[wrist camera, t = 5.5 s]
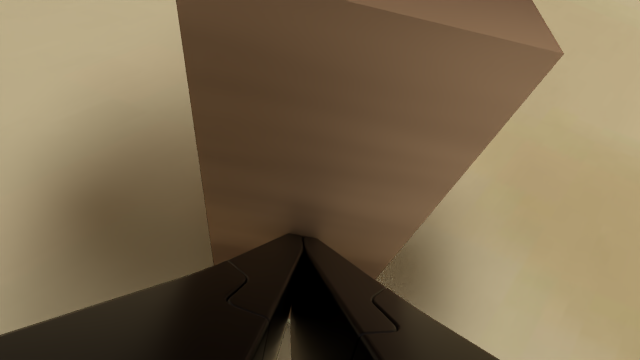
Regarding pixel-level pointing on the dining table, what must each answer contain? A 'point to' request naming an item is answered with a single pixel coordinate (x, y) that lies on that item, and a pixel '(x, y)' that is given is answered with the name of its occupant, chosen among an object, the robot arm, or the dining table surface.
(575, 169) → the dining table surface
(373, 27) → the walnut block
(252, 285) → the robot arm
